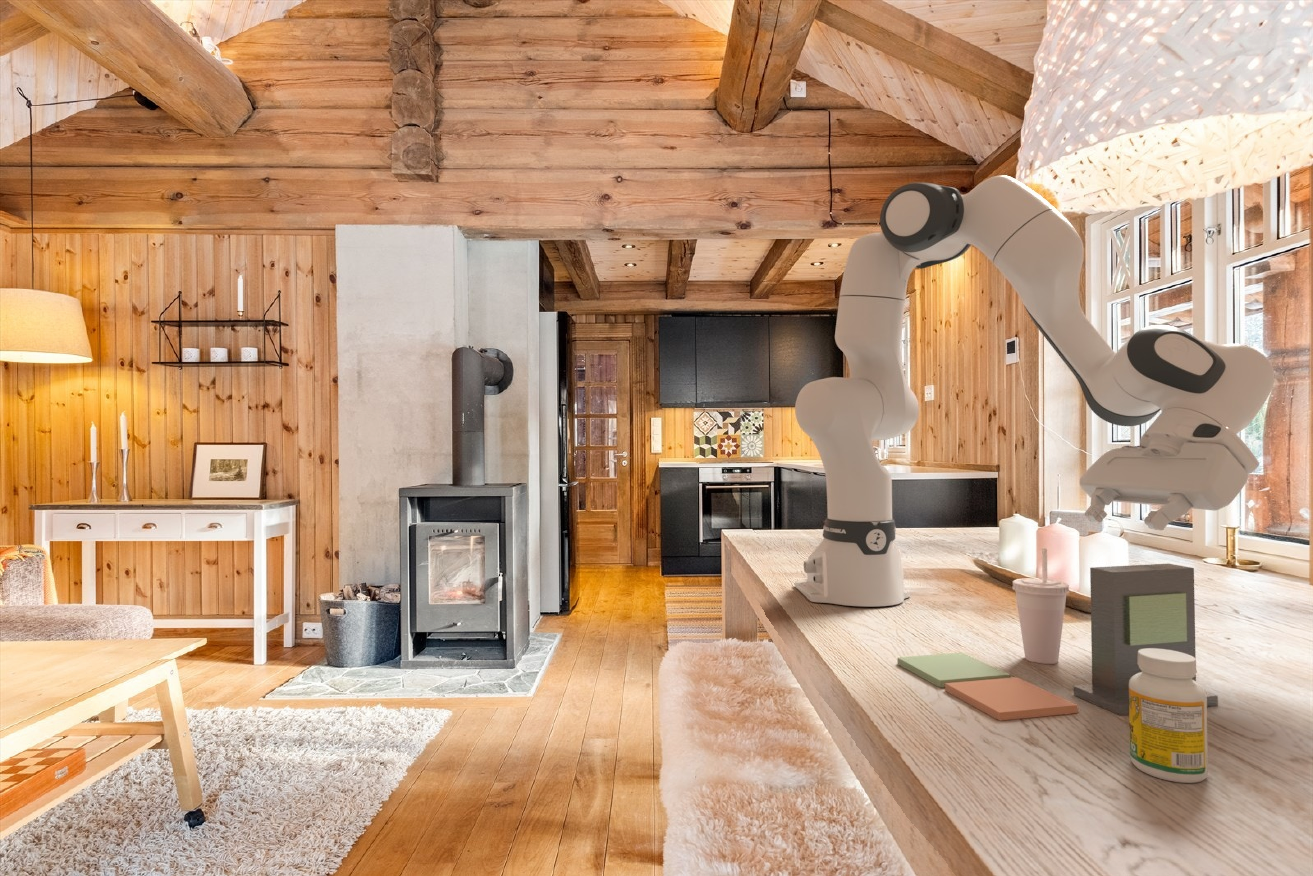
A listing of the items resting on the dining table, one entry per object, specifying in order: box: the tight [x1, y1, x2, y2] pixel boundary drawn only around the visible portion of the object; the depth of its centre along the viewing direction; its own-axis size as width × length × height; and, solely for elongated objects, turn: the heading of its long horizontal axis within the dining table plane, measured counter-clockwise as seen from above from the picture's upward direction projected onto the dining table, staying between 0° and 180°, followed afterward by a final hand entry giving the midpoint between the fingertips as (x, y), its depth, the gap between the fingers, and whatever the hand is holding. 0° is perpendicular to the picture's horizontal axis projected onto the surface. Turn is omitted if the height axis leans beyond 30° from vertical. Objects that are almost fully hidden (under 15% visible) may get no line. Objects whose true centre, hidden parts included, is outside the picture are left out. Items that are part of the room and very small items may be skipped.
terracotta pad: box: [944, 676, 1079, 721], centre depth 76 cm, size 9×9×1 cm
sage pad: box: [897, 652, 1011, 688], centre depth 86 cm, size 9×9×1 cm
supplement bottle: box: [1128, 648, 1209, 784], centre depth 60 cm, size 5×5×10 cm
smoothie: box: [1011, 547, 1070, 665], centre depth 91 cm, size 6×6×14 cm
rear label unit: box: [1073, 563, 1219, 716], centre depth 76 cm, size 6×12×14 cm, turn 102°
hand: (1120, 522), depth 94 cm, fingers open, 8 cm apart
